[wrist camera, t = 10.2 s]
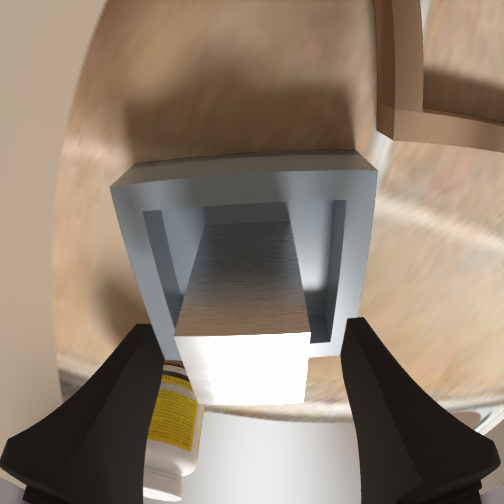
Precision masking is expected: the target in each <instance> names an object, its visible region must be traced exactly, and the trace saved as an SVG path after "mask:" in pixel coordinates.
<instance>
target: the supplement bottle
mask: <svg viewBox="0 0 504 504" xmlns="http://www.w3.org/2000/svg"><path fill="white" fill-rule="evenodd" d="M204 405H205V404H198V401H197V399H196V396H195V394H194V391H193V389H192V386H191V383H190V381H189V378H188V375H187V373H186V370H185V369H184V368H181V367H177V366H172V365H164V366H163V373H162V380H161V385H160V389H159V393H158V397H157V400H156V404H155V408H154V412H153V416H152V420H151V423H150V427H149V432H148V437H147V444H146V453H145V463H144V477H143V496H144V497H148V498H152V499H157V500H163V501H180V500H181V499H182V494H183V484H184V482H183V481H182V480H181V477H182V476H185V475H188V474H190V473H192V472H193V471H194V470H195V468H196V465H197V458H198V450H199V441H200V434H201V426H202V419H203V412H204Z"/></svg>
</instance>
